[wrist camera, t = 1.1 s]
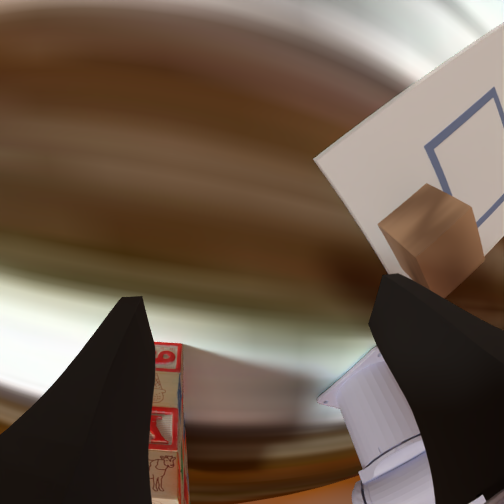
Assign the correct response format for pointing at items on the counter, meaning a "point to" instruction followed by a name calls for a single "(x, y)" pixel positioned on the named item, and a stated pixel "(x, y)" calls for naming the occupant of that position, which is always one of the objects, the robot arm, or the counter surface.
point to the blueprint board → (429, 147)
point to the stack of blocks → (168, 429)
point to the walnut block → (434, 239)
